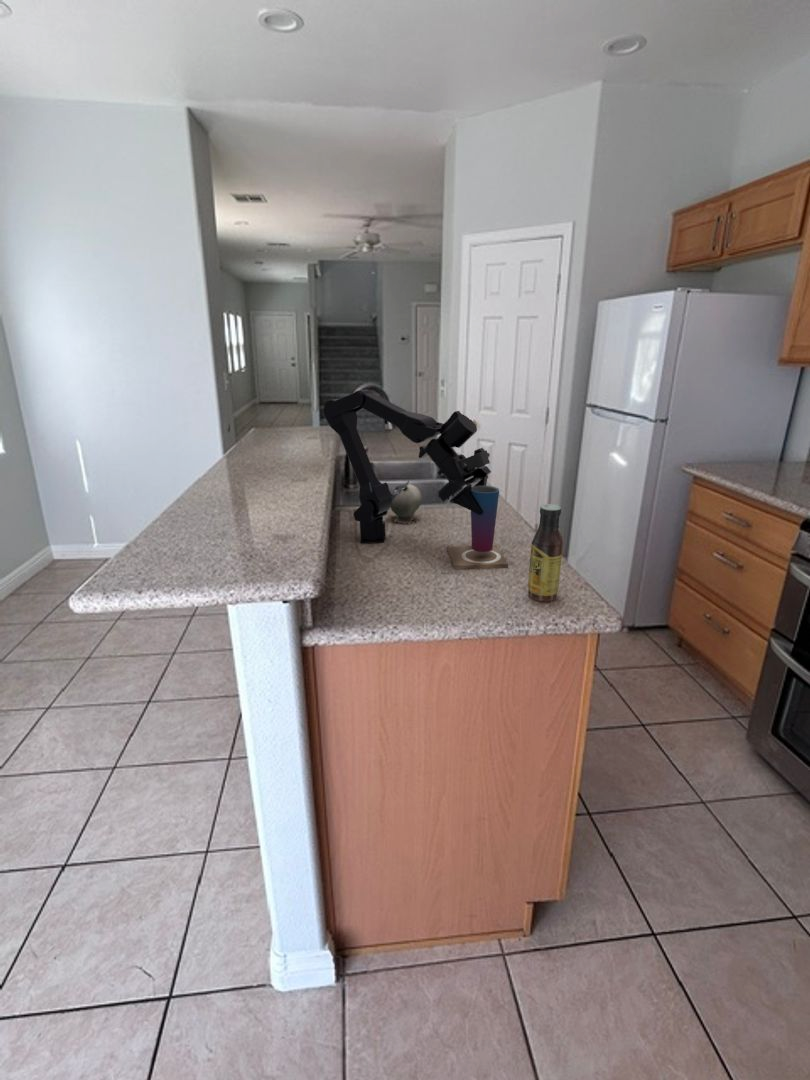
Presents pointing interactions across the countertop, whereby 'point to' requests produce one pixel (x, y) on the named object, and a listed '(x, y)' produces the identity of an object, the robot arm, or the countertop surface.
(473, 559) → the board
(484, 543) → the cup
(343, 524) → the countertop surface
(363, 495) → the robot arm
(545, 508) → the sauce bottle
